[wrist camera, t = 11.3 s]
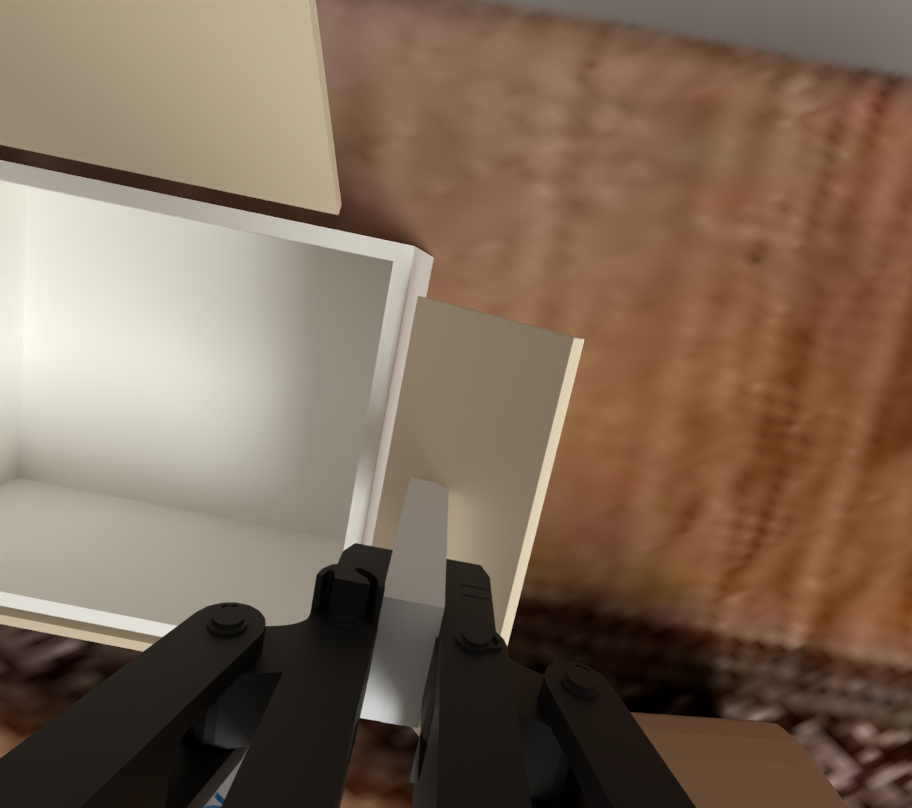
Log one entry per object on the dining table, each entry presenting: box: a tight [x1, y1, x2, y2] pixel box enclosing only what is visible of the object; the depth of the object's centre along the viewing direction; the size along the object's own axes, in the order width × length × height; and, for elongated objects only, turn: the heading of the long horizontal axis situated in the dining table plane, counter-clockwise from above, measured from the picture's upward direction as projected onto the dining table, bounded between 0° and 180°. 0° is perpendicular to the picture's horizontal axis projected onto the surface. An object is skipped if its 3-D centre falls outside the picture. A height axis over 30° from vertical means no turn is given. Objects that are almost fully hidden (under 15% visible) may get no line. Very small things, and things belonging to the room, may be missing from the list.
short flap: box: [372, 296, 585, 736], centre depth 17 cm, size 6×13×1 cm
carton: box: [0, 160, 434, 651], centre depth 25 cm, size 21×17×10 cm
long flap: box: [0, 0, 342, 215], centre depth 14 cm, size 15×7×1 cm
